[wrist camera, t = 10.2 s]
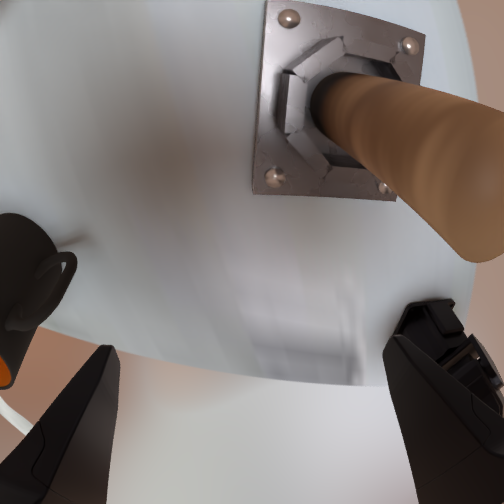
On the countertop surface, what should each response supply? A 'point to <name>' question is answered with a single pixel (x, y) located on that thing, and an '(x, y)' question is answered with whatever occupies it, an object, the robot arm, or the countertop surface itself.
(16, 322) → the mug
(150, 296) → the countertop surface
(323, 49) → the bracket
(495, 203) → the brown round cylinder
